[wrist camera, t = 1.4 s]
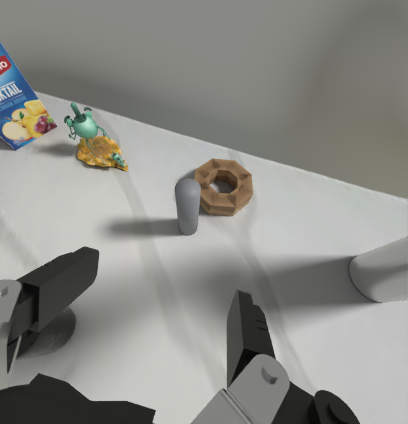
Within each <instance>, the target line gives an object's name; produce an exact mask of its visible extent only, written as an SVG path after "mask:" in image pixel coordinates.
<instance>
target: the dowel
mask: <svg viewBox="0 0 408 424" xmlns="http://www.w3.org/2000/svg"><path fill="white" fill-rule="evenodd" d="M200 194H201V187H200V185H199V183H198V182H197V181H195V180H193V179H183V180H181V181H179V182H178V183H177V184H176V186H175V195H176V205H177V215H178V224H179V230H180V232H181V233H182V234H184V235H192V234H194V233H195V232H196V230H197V226H198V215H199V205H200Z"/></svg>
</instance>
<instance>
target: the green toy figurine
mask: <svg viewBox="0 0 408 424" xmlns="http://www.w3.org/2000/svg"><path fill="white" fill-rule="evenodd" d="M71 107H72V109H73V111H74V113H75V114H76V117H75V118H74V120H73V121H72V119H69V118H70V116H66V117H65V119H64V122H65V123H66V121H67V125H68V126H69V127H70V130H71V127H73V129H74V131H75V132H74V133H73V134H75V137H74V138H73V137H71V135H70V134H69V137H70V138H73V139H74V140H75V138H76V134H77V135H78V136H80V137H82V139H81V143H79V144H78V149H79V151H78V154H77V156H78V158H79V159H80V160H83V161H84V162H86V163H87V164H89V165H93V166H94V165H95V164H97V165H99V166H103V167H104V166H106V167H107V166H112V167H118V168H120V169H122V170H125V171H128V165H126V163H125V161H124V160H122V159H121V157H120V158H119V155H118V154H120V153H122V152H120V148H119V147H118V145H117V144H116V143H115V142H114V141H113V140H112V139H111V138H109V137H108V135H107V134H106V132H105V131H103V130H104V129H102V128H101V127H99V126H98V125H96V123H95V121H94V120H93V119H92V114H91V113H90V112H87V113H86V114H84V113H83V114H80V112H79V110H78V108H77V106H76V104H75V103H71ZM86 110H90V111H92V110H91V109H90V108H88V107H85V108H84V111H86ZM67 119H68V120H67ZM98 127H99V128H100V129H101V130H102V131H103V133H104V132H105V134H106V135H107V137H108V138H107V137H106V136H105V134H103V135H104V136H102V137H101V136H97V137H95V136H96V135H97V133H98ZM71 134H72V131H71ZM73 134H72V135H73ZM114 160H115V161H114Z"/></svg>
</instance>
